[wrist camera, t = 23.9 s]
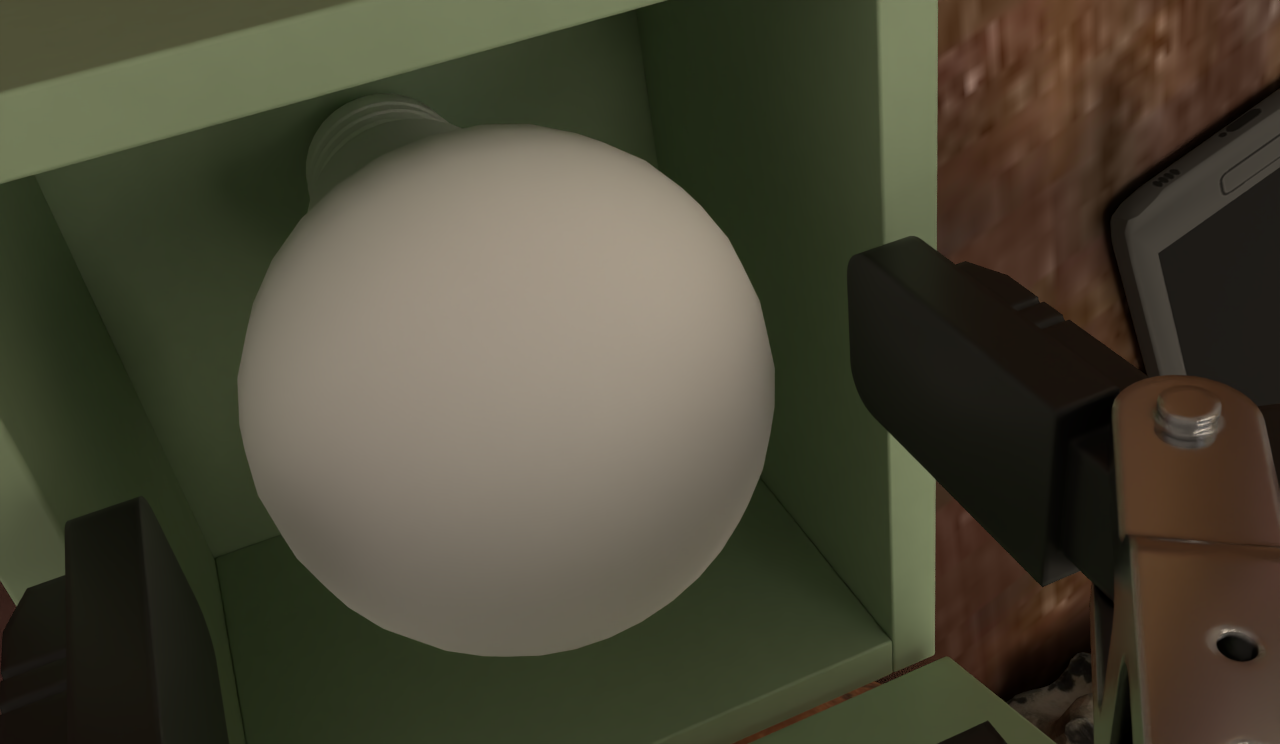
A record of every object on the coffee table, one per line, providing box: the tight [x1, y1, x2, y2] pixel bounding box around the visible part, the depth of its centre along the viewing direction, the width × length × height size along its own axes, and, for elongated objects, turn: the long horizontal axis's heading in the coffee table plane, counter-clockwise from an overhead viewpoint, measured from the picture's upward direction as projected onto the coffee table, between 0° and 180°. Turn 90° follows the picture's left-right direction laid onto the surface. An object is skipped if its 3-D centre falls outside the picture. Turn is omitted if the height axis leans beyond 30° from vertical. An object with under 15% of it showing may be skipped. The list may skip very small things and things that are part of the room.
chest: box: [0, 0, 938, 744], centre depth 19 cm, size 13×12×9 cm
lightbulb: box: [237, 94, 775, 657], centre depth 16 cm, size 6×6×11 cm
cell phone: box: [1110, 88, 1280, 406], centre depth 33 cm, size 7×14×1 cm, turn 28°
